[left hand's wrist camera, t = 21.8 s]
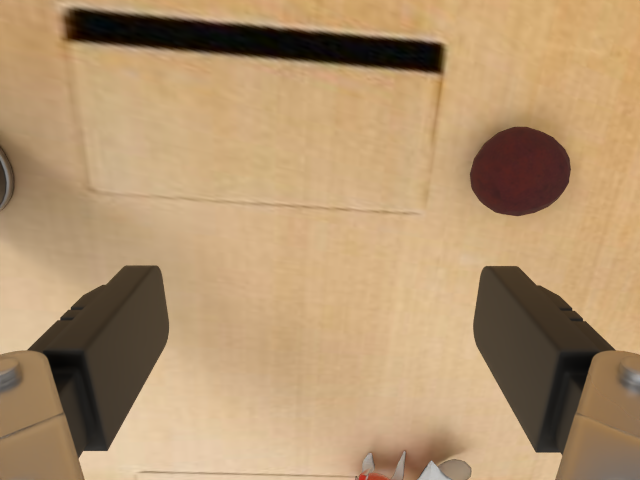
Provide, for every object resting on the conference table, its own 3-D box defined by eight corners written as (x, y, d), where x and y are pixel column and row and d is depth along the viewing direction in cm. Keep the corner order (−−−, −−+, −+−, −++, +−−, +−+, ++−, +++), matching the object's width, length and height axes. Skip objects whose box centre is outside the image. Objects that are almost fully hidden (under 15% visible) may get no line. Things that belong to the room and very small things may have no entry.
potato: (552, 181, 41) (596, 203, 35) (473, 214, 43) (501, 241, 36) (532, 107, 39) (575, 116, 32) (449, 144, 40) (474, 160, 34)
